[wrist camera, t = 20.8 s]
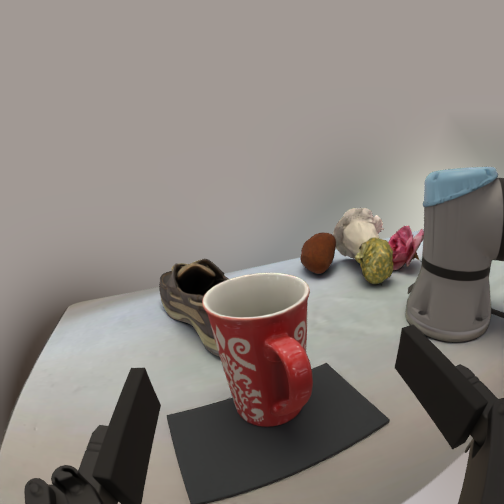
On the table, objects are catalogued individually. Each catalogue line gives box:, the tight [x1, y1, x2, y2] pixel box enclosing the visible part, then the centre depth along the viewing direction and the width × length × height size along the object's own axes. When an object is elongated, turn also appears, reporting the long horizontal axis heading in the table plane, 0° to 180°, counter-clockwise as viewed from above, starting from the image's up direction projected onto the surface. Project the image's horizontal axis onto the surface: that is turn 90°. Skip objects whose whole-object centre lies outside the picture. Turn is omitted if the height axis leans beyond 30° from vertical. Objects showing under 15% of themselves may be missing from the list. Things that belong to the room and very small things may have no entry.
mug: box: [202, 273, 313, 427], centre depth 24 cm, size 13×9×14 cm
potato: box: [301, 233, 336, 274], centre depth 64 cm, size 8×12×8 cm
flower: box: [388, 226, 424, 270], centre depth 58 cm, size 11×10×10 cm
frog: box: [333, 208, 393, 285], centre depth 58 cm, size 12×13×18 cm
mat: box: [167, 363, 389, 504], centre depth 25 cm, size 20×12×1 cm, turn 111°
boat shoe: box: [159, 259, 229, 356], centre depth 48 cm, size 11×29×11 cm, turn 38°
